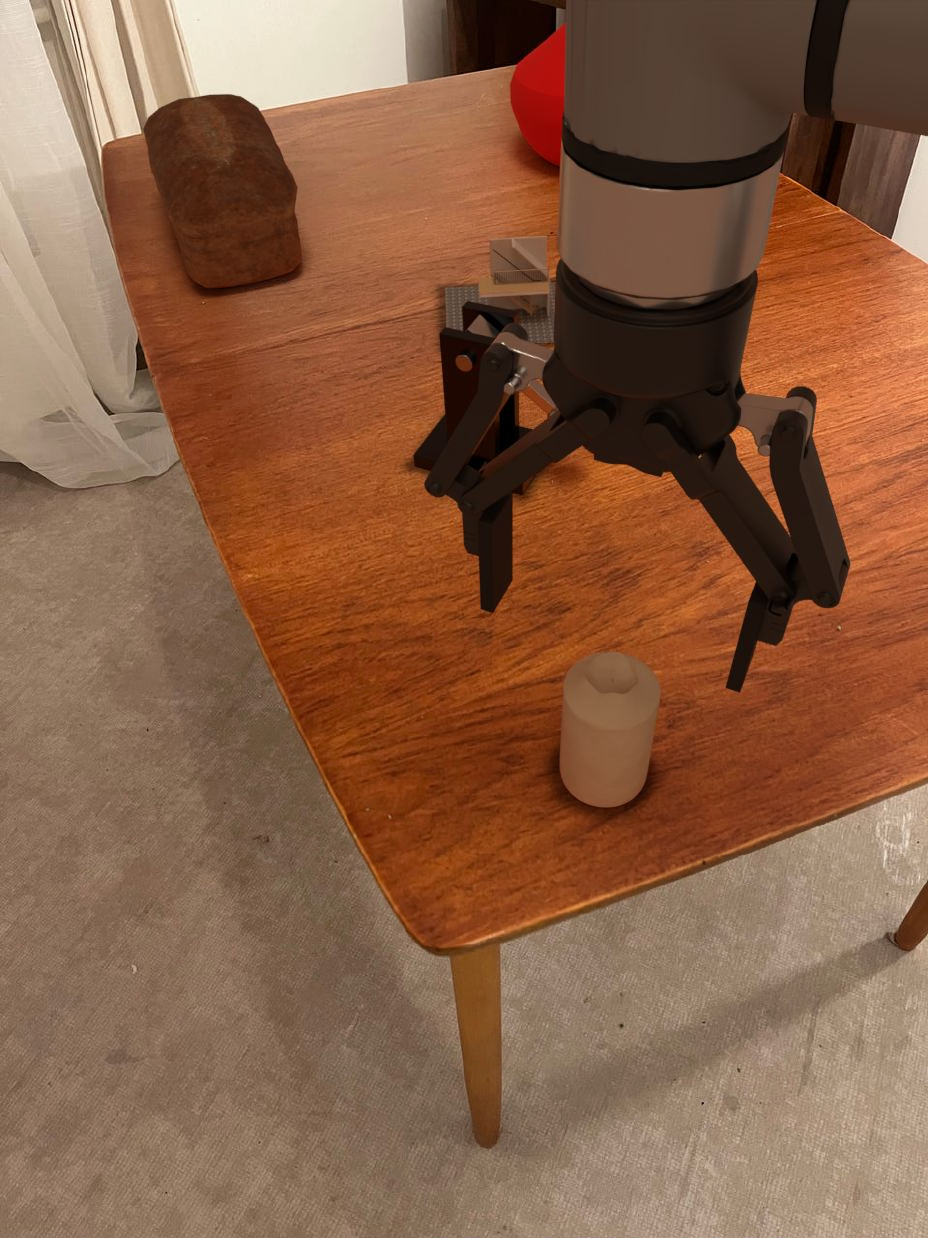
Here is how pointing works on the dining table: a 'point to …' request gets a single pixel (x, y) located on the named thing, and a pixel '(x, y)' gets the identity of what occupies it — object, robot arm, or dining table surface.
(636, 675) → the candle
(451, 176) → the dining table surface
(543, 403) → the lever
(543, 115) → the vase
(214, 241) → the bread
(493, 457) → the bracket
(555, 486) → the dining table surface
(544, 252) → the architectural model
